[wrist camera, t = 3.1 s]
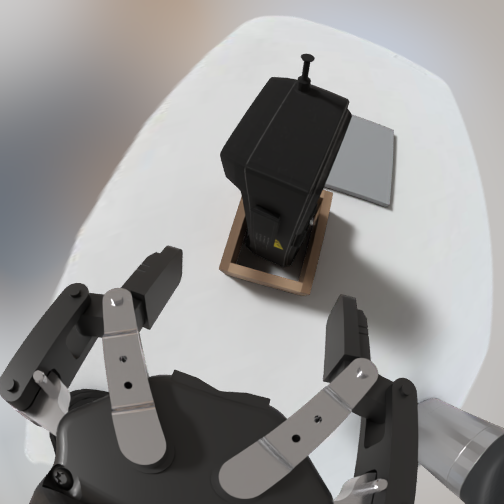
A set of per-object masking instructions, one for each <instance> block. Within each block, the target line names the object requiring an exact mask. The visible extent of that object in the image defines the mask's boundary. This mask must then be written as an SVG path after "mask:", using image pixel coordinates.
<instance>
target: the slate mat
mask: <svg viewBox="0 0 504 504" xmlns="http://www.w3.org/2000/svg"><path fill="white" fill-rule="evenodd" d="M393 141H394V130H392V129H390V128H387V127H385V126H382V125H380V124H377V123H374V122H372V121H369V120H366V119H363V118H360V117H357V116H354V115H352V118H351V121H350V124H349V126H348V129H347V131H346V134H345V137H344V139H343V142H342V144H341V147H340V149H339V152H338V154H337V157H336V159H335V162H334V164H333V167H332V169H331V172H330V174H329V176H328V179H327V181H326V184H325V186H324V187H327V188H330V189H333V190H336V191H340V192H343V193H346V194H349V195H352V196H355V197H358V198H361V199H364V200H367V201H370V202H373V203H376V204H379V205H382V206H384V207H388V206H389V204H390V194H391V182H392V167H393Z"/></svg>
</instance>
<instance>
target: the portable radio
mask: <svg viewBox="0 0 504 504" xmlns="http://www.w3.org/2000/svg"><path fill="white" fill-rule="evenodd" d="M301 58H302V60H303V61H304V65H303V72H302V76H300V77H298V80H296V79H290V78H280V77H271V78H270V79H269V81H268V82H267V83H266V85H265V86H264V88H263V89H262V90H261V92H260V93H259V95H258V96H257V97H256V99H255V100H254V102H253V103H252V105H251V106H250V107H249V109H248V110H247V112H246V113H245V115H244V116H243V118H242V119H241V121H240V122H239V124H238V125H237V127H236V128H235V130H234V131H233V133H232V135H231V136H230V138H229V139H228V141H227V142H226V144H225V145H224V147H223V149H222V151H221V153H220V157H221V161H222V165H223V168H224V172H225V175H226V177H227V178H228V179H229V180H230V181H231V182H232V183H233V184H234V185H235V186H236V187H237V188H238V189H239V190H240V191H241V194H242V200H243V205H244V211H245V216H246V221H247V227H248V232H249V235H248V237H247V239H246V241H245V245H246V247H247V248H248V249H249V250H250V251H251V252H252V253H254V254H256V255H257V256H259V257H262V258H264V259H266V260H268V261H270V262H273V263H275V264H277V265H279V266H281V267H286V266H290V265H291V264H292V262H293V260H294V258H295V256H296V254H297V252H298V249H299V247H300V245H301V244H302V243H303V241H304V239H305V236H306V231H307V229H308V226H309V223H310V220H311V219H312V217H313V215H314V214H315V213H316V208H317V205H318V203H317V201H318V199H319V197H320V195H321V193H322V191H323V188H324V186H325V184H326V181H327V179H328V176H329V174H330V172H331V169H332V167H333V164H334V162H335V159H336V157H337V154H338V152H339V149H340V147H341V144H342V142H343V139H344V137H345V134H346V131H347V129H348V126H349V124H350V121H351V118H352V115H351V113H350V111H349V110H348V109H347V108H348V105H349V100H348V99H346V98H344V97H342V96H339V95H337V94H335V93H332V92H330V91H327V90H325V89H322V88H319V87H317V86H314V85H311V84H310V82H311V80H310V78H308V72H309V67H310V62H312V61H314V59H315V58H314V56H312V55H310V54H303V55H301Z"/></svg>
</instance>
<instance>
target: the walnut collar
mask: <svg viewBox="0 0 504 504" xmlns="http://www.w3.org/2000/svg"><path fill="white" fill-rule="evenodd" d="M332 196H333V193H332V192H329V191H325V190H323V191H322V193H321V195H320V197H319V199H318V201H317V203H318V205H317V208H316V213H315V217H314V221H313V225H312V229H311V234H310V238H309V242H308V246H307V250H306V254H305V258H304V262H303V266H302V269H301V273H300V277H299V281H298V282H297V281H294V280H290V279H286V278H283V277H279V276H276V275H272V274H269V273H265V272H261V271H258V270H254V269H251V268H247V267H244V266H240V265H237V264H236V263H237V260H238V257H239V253H240V250H241V247H242V244H243V240H244V237H245V234H246V230H247V221H246V216H245V211H244V205H243V200H242V197H241V200H240V203H239V206H238V209H237V213H236V216H235V219H234V222H233V225H232V228H231V231H230V234H229V238H228V241H227V244H226V247H225V250H224V253H223V257H222V260H221V263H220V266H219V270H221V271H222V272H223V273H224V274H226V275H230V276H233V277H236V278H240V279H243V280H247V281H250V282H254V283H257V284H261V285H264V286H268V287H271V288H275V289H279V290H282V291H286V292H289V293H293V294H297V295H300V296H305V295H310V291H311V287H312V284H313V280H314V276H315V272H316V268H317V264H318V260H319V256H320V251H321V247H322V243H323V238H324V234H325V230H326V225H327V220H328V216H329V211H330V206H331V201H332Z"/></svg>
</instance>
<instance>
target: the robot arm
mask: <svg viewBox="0 0 504 504" xmlns="http://www.w3.org/2000/svg"><path fill="white" fill-rule="evenodd" d="M182 255H183V253H182V250H181V249H178V248H175V247H172V246H166V247H165V249H164V250H163V251H162V252H161V253H157V252H156V253H154V254H152V255H150V256H148V257H147V258H146V259H145V260H144V261H143V262H142V265H140V266H139V267H138V268H137V270H136V271H135V272H134V273H133V274H132V275H131V276H130V278H129V279H128V280H127V281H126V282H125V283H124V285H123V286H122V287H121V288H114V289H111V290H109V291H108V292H106V293H105V295H103V294H94V293H89V291H88V288H87V287H86V286H85V285H84V284H81V283H74V284H71V285H69V286H68V287H66V288H65V289H64V291H63V292H62V293H61V294H60V295H59V297H58V298H57V299H56V300H55V301H54V303H53V304H52V305H51V306H50V308H49V309H48V310H47V311H46V313H45V314H44V315H43V317H42V318H41V319H40V320H39V322H38V323H37V325H36V326H35V327H34V328H33V330H32V331H31V333H30V334H29V335H28V336H27V338H26V339H25V341H24V342H23V344H22V345H21V347H20V348H19V349H18V351H17V352H16V354H15V355H14V357H13V358H12V360H11V361H10V363H9V364H8V366H7V368H6V369H5V371H4V372H3V374H2V376H1V377H0V395H1V396H2V398H3V399H4V400H6V401H7V402H8V403H9V404H10V405H11V406H12V407H13V408H14V409H15V410H16V411H17V412H19V413H20V414H21V415H22V416H24V417H25V418H26V419H28V420H30V421H31V422H33V423H34V424H35V425H37V426H40V427H44V428H45V429H46V430H48V431H49V432H51V433H52V434H54V435H55V436H56V456H55V461H54V464H53V467H52V468H51V470H50V471H49V473H48V474H47V475H46V477H44V479H43V480H42V481H41V482H40V483H39V485H38V486H37V488H36V489H35V491H34V494H33V496H32V498H31V500H30V503H29V504H414V500H415V492H416V482H417V469H418V462H419V463H420V464H421V465H422V466H423V467H425V468H426V469H427V470H428V471H429V472H430V473H431V474H432V475H433V476H435V477H436V478H437V479H438V480H439V481H440V482H441V483H443V484H444V485H445V486H446V487H447V488H448V489H449V490H451V491H452V492H453V493H454V494H455V495H456V496H458V497H459V498H460V499H461V500H462V501H463V502H464V503H465V504H504V428H502V427H500V426H497V425H495V424H492V423H490V422H488V421H485V420H483V419H481V418H478V417H476V416H474V415H472V414H469V413H467V412H465V411H463V410H460V409H458V408H456V407H454V406H452V405H450V404H448V403H446V402H443V401H441V400H439V399H435V398H432V399H427V400H425V401H423V402H421V403H420V404H418V403H417V391H416V388H415V386H414V384H413V383H412V382H411V381H410V380H408V379H406V378H398V379H397V380H395V381H394V382H392V381H390V380H388V379H386V378H384V377H382V376H380V375H379V374H378V370H377V368H376V366H375V365H374V363H372V362H371V359H370V346H369V336H368V329H367V328H368V326H367V318H366V317H365V315H364V313H363V311H362V310H358V309H357V304H356V298H353V297H350V296H346V295H342V294H341V295H340V296H339V298H338V300H337V302H336V304H335V305H334V307H333V309H332V311H331V313H330V315H329V317H328V320H327V324H326V342H325V360H324V375H323V381H324V382H329V383H330V384H329V385H328V386H327V387H325V388H323V389H322V390H321V391H320V392H319V393H318V394H317V395H315V396H314V397H313V398H312V399H311V400H310V401H309V402H307V403H306V404H305V405H304V406H303V407H302V408H300V409H299V410H298V411H297V412H296V413H294V414H293V415H292V416H291V417H289V418H288V419H287V418H286V417H285V416H284V415H283V414H282V413H281V412H279V411H278V410H277V409H275V408H274V407H272V406H270V405H269V403H270V399H269V398H265V397H261V396H257V395H253V394H249V393H239V392H223V391H219V390H217V389H215V388H213V387H212V386H210V385H208V384H207V383H205V382H203V381H202V380H200V379H199V378H197V377H194V376H191V375H188V374H185V373H183V372H180V371H177V370H174V372H173V374H172V375H156V376H151V377H149V373H148V370H147V366H146V362H145V357H144V353H143V348H142V343H141V338H140V333H139V332H140V330H141V329H142V327H144V328H147V329H149V330H150V329H151V327H152V326H153V324H154V322H155V321H156V319H157V318H158V316H159V314H160V313H161V311H162V310H163V308H164V307H165V305H166V303H167V302H168V300H169V299H170V297H171V296H172V294H173V293H174V291H175V289H176V288H177V286H178V285H179V283H180V280H181V277H182ZM98 337H101V338H102V341H103V351H104V360H105V368H106V375H107V382H108V388H109V394H110V395H107V396H105V397H103V398H100V399H98V400H95V401H93V402H90V403H88V404H85V405H83V406H80V407H78V408H75V409H73V410H71V411H69V412H68V407H69V403H70V392H69V390H68V388H69V386H70V384H71V382H72V380H73V379H74V377H75V375H76V373H77V372H78V370H79V368H80V366H81V365H82V363H83V361H84V360H85V358H86V356H87V355H88V353H89V351H90V350H91V348H92V346H93V345H94V343H95V342H96V340H97V338H98ZM351 412H353V413H355V414H357V415H359V416H361V427H360V437H359V445H358V453H357V460H356V467H355V473H354V478H351V479H349V480H348V481H346V482H345V483H344V485H343V486H342V489H341V491H340V493H339V495H338V496H337V497H336V498H335V499H334V500H333V498H332V495H331V493H330V491H329V490H328V488H327V486H326V485H325V483H324V481H323V480H322V478H321V476H320V475H319V473H318V471H317V470H316V468H315V466H314V465H313V463H312V461H311V460H310V458H309V456H308V455H309V454H310V453H311V452H312V451H313V450H314V449H316V448H317V447H318V446H319V445H320V444H321V443H322V442H323V441H324V440H325V439H326V438H327V437H328V436H329V435H330V434H331V433H332V432H333V431H334V430H335V429H336V428H337V427H338V426H339V425H340V424H341V423H342V422H343V421H344V420H345V419H346V418H347V416H348V415H349V414H350V413H351Z"/></svg>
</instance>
